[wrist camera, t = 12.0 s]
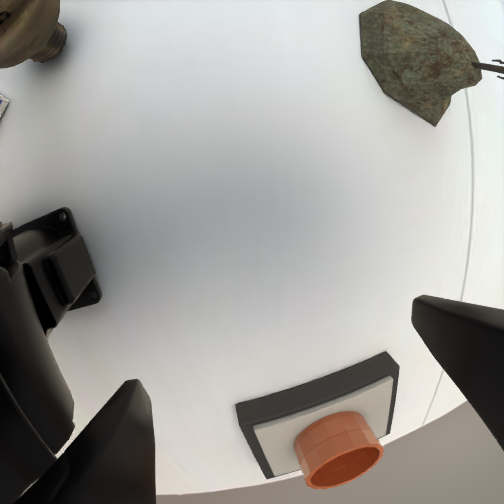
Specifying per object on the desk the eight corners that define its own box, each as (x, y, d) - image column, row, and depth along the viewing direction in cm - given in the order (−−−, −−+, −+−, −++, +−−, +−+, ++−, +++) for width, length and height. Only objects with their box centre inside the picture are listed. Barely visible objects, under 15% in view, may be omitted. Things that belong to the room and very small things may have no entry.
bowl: (298, 464, 23) (309, 496, 19) (288, 429, 21) (302, 467, 17) (363, 439, 24) (379, 468, 20) (365, 399, 21) (387, 432, 18)
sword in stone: (332, 46, 16) (462, -29, 4) (378, -9, 14) (484, -69, 3) (428, 142, 19) (565, 157, 7) (460, 79, 17) (574, 71, 6)
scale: (262, 463, 27) (268, 485, 24) (235, 404, 23) (240, 430, 20) (380, 421, 28) (392, 438, 25) (386, 350, 24) (403, 370, 21)
